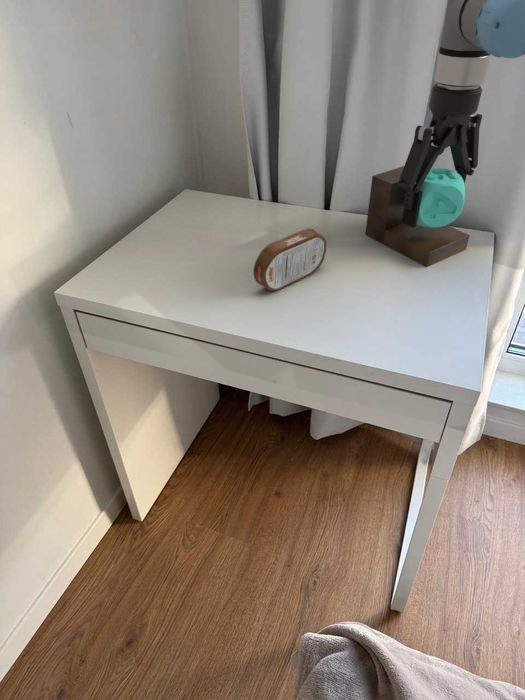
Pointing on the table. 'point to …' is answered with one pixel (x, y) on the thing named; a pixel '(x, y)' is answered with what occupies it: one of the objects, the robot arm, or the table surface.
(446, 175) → the decorative dice
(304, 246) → the tin
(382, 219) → the shelf stand
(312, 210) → the table surface
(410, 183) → the robot arm
